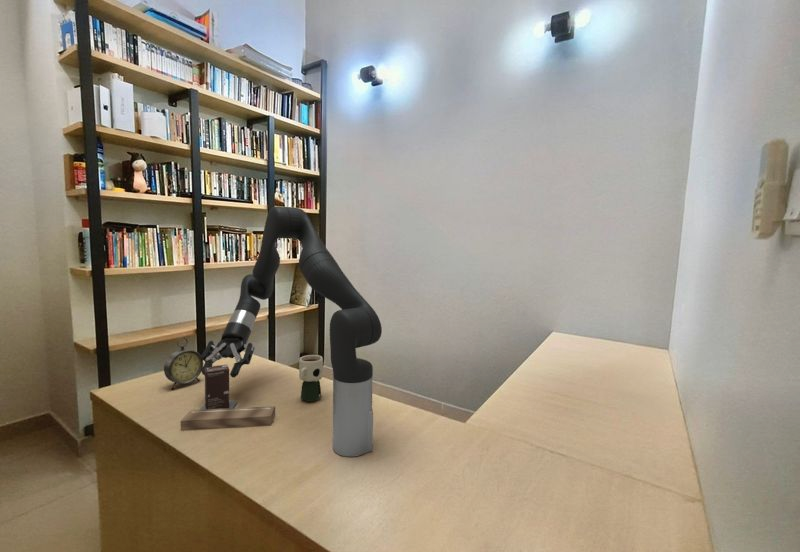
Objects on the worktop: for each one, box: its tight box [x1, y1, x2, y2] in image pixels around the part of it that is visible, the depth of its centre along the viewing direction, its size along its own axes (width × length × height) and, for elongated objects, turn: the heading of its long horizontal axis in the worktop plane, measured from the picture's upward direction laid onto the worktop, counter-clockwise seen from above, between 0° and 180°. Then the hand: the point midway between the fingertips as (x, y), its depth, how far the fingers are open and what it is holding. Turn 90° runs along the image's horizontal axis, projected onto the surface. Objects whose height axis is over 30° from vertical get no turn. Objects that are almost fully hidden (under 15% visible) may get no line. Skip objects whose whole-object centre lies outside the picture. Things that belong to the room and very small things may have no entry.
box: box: [204, 364, 230, 409], centre depth 102 cm, size 6×4×12 cm
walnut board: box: [180, 405, 276, 431], centre depth 96 cm, size 22×6×3 cm, turn 99°
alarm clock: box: [163, 336, 204, 390], centre depth 119 cm, size 11×5×16 cm, turn 148°
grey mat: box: [198, 400, 239, 410], centre depth 103 cm, size 9×9×1 cm
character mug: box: [298, 354, 324, 402], centre depth 111 cm, size 11×7×13 cm, turn 163°
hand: (218, 375), depth 103 cm, fingers open, 8 cm apart
